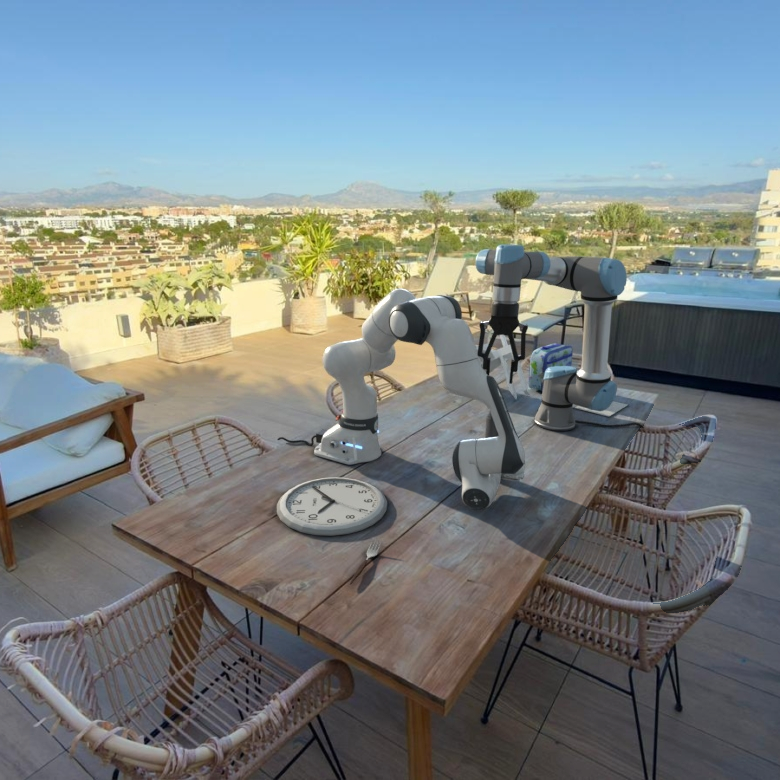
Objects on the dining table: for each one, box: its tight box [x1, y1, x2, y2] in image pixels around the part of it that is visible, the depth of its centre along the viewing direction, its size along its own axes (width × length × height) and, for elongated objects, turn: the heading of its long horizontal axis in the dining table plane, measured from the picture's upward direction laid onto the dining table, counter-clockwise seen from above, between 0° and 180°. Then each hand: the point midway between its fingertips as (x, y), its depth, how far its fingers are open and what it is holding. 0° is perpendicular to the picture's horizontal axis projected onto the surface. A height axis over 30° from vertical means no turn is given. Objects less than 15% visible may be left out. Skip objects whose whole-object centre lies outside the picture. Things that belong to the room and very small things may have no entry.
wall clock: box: [276, 476, 388, 537], centre depth 142 cm, size 30×2×30 cm
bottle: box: [484, 410, 499, 438], centre depth 158 cm, size 6×6×25 cm
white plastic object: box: [476, 335, 531, 400], centre depth 245 cm, size 37×45×31 cm
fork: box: [349, 538, 383, 585], centre depth 117 cm, size 3×16×2 cm, turn 160°
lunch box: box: [528, 343, 574, 392], centre depth 249 cm, size 26×11×21 cm, turn 134°
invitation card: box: [573, 400, 629, 418], centre depth 226 cm, size 21×1×15 cm
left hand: (493, 455), depth 161 cm, fingers closed on bottle, 5 cm apart
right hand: (499, 381), depth 153 cm, fingers open, 6 cm apart
